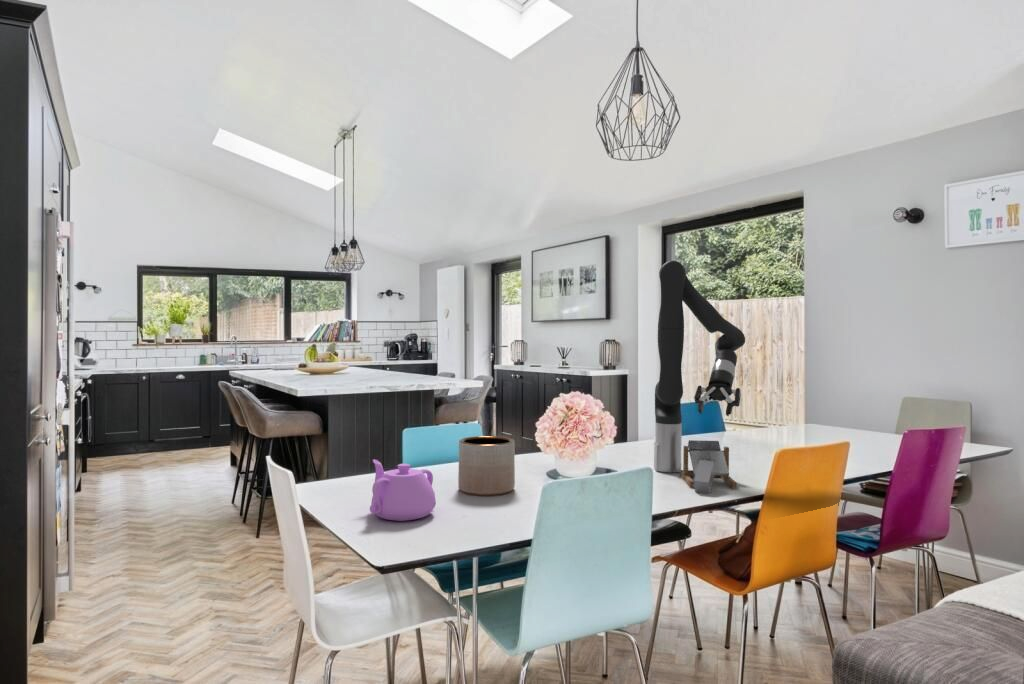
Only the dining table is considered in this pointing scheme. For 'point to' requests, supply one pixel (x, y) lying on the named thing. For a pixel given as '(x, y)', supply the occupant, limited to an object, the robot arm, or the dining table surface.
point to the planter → (486, 465)
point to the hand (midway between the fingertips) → (713, 413)
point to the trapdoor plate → (708, 456)
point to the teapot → (402, 493)
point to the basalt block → (704, 476)
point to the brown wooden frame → (687, 473)
